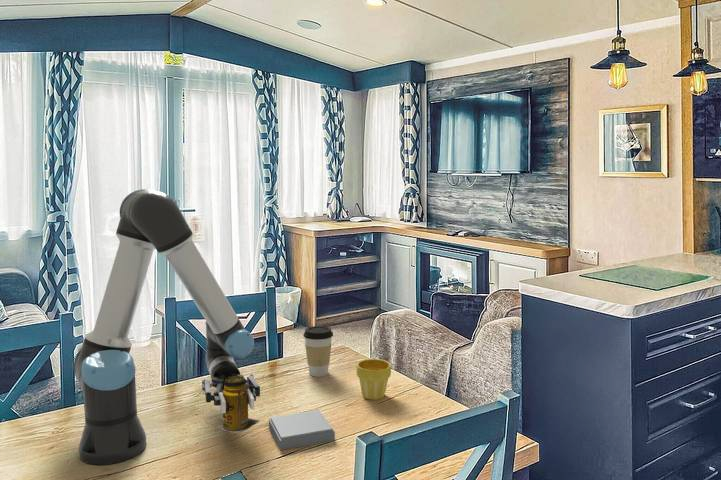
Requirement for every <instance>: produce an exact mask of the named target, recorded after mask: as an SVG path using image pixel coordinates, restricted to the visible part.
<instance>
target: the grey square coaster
mask: <svg viewBox="0 0 721 480" xmlns="http://www.w3.org/2000/svg"><path fill="white" fill-rule="evenodd" d="M268 429H269V430H270V432H271V433H270V434H271V435H272V436H273V438H274V441H275V442H276V444H277V446H278V448H279V450H280V451H283V450H288V449H289V450H290V449H294V448H300V447H305V446H309V445H316V444H322V443H327V442H333V441H335V440H336V434H335V433H336V431H335V430H334V428H333V427H332V425H331V424H330V423H329V421H328V420H327V419H326V417H325V416H324V415H323V413H322V412H321V411H320V409H314V410H309V411H308V410H307V411H303V412H296V413H290V414H283V415H276V416H271V417H270V418H268Z"/></svg>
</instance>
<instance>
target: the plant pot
mask: <svg viewBox="0 0 721 480" xmlns="http://www.w3.org/2000/svg"><path fill="white" fill-rule="evenodd" d="M391 375H392V364H391V363H390V362H389V361H387V360H384V359H380V358H379V359H378V358H367V359H363V360H362V359H361V360H359V361H358V362H357V363H356V376H357V377H358V380H359V384H360V385H359V386H360V389H361V395H362V397H363V398H364V399H367V400H372V401H373V400H375V401H376V400H381V399H383V398H384V397H385V395H386V390H387V386H388V380H389V378H390V377H391Z"/></svg>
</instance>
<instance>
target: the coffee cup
mask: <svg viewBox="0 0 721 480" xmlns="http://www.w3.org/2000/svg"><path fill="white" fill-rule="evenodd" d="M304 330H305V331H304V332H303V337H304V342H305V343H304V347H305V354H306V361H307V365H308V373H309V375H310V376H312V377H317V378H318V377H324V376H327V375H328V374H329V367H330V361H331V354H332V353H331V351H332V337H333V336H334V333H333V331H332V329H331V327H329V326H325V325H324V326H323V325H313V326H308V327H306V328H305V329H304Z"/></svg>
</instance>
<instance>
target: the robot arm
mask: <svg viewBox="0 0 721 480" xmlns="http://www.w3.org/2000/svg"><path fill="white" fill-rule="evenodd" d="M119 218H120V219H119V222H118V225H117V229H116V232H115V236H116V237H117V238H118V242H119V244H118V247H117V250H116V254H115V257H114V261H113V263H112V267H111V270H110V274H109V277H108V281H107V284H106V287H105V290H104V295H103V298H102V300H101V304H100V308H99V310H98V311H99V312H98V315H97V317H96V320H95V324H94V328H93V330H92V331H90V332H88V333H87V334H86V335H85V336H84V339H83V342H82V345H81V348H80V349H79V350H78V351H77V353H76V355H75V358H74V359H73V373H74V375H75V379H76V380H77V382H78V384H79V386H80V388H81V391H82V396H83V408H84V427H83V430H82V434H81V438H80V441H79V445H78V455H79V456H80V457H79V459H80V458H81V459H80V460H81V461H82V460H83V461H84V462H83V461H82V462H83V463H86V462H87V463H86V464H89V463H90V465H95V464H105V465H111V463H113V464H117V462H118V463H120V462H125V461H127V460H130V459H132V458H135V457H136V456H138V455H139V454H140V453H143V451H144V450H145V448H146V447H147V434H146V432H145V429H144V427H143V424H142V422H141V421H140V418H139V416H138V409H137V405H138V404H137V388H136V387H137V386H136V365H135V360H134V358H133V356H132V355H131V354H130V352H131V350H132V345H133V343H132V342H131V339H129V334H130V331H131V327H132V324H133V320H134V317H135V313H136V311H137V307H138V304H139V301H140V297H141V293H142V291H143V287H144V284H145V280H146V277H147V273H148V270H149V266H150V264H151V259H152V258H153V253H154V251H155V250H156V251H157V253H158V254H161V255H164V257H165V258H166V260H167V262H168V263H169V264H170V266H171V268H172V269H173V270H174V272H175V274H176V275H177V277H178V279H179V280H180V282H181V283H182V284H183V287H184V288H185V290H186V291H187V293H188V294H189V296H190V298H191V299H192V301H193V302H194V304H195V305H196V307H197V309H198V310H199V312H200V313H201V315H202V317H203V318H204V319H205V332H206V334H205V336H206V337H205V339H206V340H205V341H206V348H205V349H206V354H205V356H204V357H205V359H204V360H205V363H204V365H205V367H206V368H207V370H208V373H209V376H210V379H211V380H207V379H202V380H201V386H202V387H201V390H202V391H203V392H204V395H205V397H204V398H205V402H206V403H208V404H209V403H211V402H212V401H213V406H215V407H217V406H219V407H220V409H221V413H222V414H223V413H226V401H225V399H224V396H223V391H224V381H225V379H227V378H229V377H233V376H241V377H244V375H242V374H241V372H240V370H239V367H238V366H237V364H236V362H235V360H234V359H235V358H236V359H242V358H245V357H247V356H249V355H250V354H251V352H252V351H253V349H254V347H255V338H254V336H253V335H252V334H251V332H250V331H249V330H247V329H246V328H245V327H244V325H243V323H242V321H241V320H240V318H239V317H238V315H237V313H236V312H235V310H234V308H233V306H232V305H231V303H230V302H229V300H228V297H227V296H226V295H225V293H224V291H223V290H222V288H221V286H220V284H219V282H218V281H217V280H216V278H215V276H214V274H213V272H212V271H211V269H210V268H209V266H208V265H207V263H206V261H205V259H204V258H203V255H202V254H201V252H200V251H199V249H198V247H197V246H196V244H195V242H194V241H193V235H194V233H193V231H192V229H191V228H190V226H189V224H188V222H187V220H186V218H185V216H184V215H183V213H182V211H181V209H180V208H179V206H178V204H177V202H176V201H175V200H174V199H173V198H172V197H171V196H170V195H168V194H166V193H165V192H162V191H158V190H153V189H149V188H148V189H147V188H145V189H143V188H142V189H138V190H134V191H132V192H130V193H128V194H127V195H126V196H125V197H124V199H122V201H121V203H120V207H119ZM244 378H245V379H246V386H247V387H246V388H247V390H248V407H249V408H250V410H255V402H256V401H257V397H259V398H260V396H261V385H259V383H258V382H257V380H256V379H255V376H254V374H249V375H247V376H246V377H244ZM211 388H215V389H214V391H213V392H212V390H211Z"/></svg>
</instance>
